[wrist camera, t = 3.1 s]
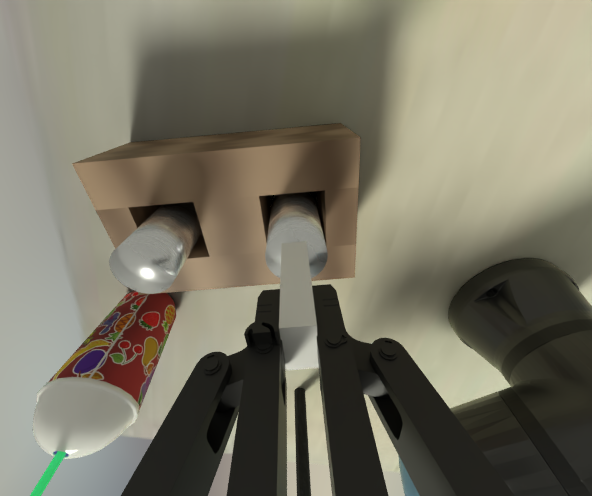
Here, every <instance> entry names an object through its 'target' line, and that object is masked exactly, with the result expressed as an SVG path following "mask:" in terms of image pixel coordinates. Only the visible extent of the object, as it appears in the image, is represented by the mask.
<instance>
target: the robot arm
mask: <svg viewBox="0 0 592 496" xmlns="http://www.w3.org/2000/svg"><path fill="white" fill-rule="evenodd" d="M448 318H449V323H450V325H451V327H452V328H453V330H454V331H455V333H456V334H457V336H458V337H459V338H460V340H461V341H462V342H463V343H464V344H466V345H467V346H469V347H470V348H472V349H474V350H475V351H476V352H477V353H478V354H479V355H481V356H482V357H483V358H484V359H485V360H487V361H488V362H489V363H490V364H492V365H493V366H494V367H495V368H497V369H498V370H499V371H500V372H501V374H502V375H503V376H504V378H505V379H506V380H507V381H508V383H509V384H510V385H511V387H510V388H507V389H504V390H501V391H499V392H495V393H492V394H490V395H487V396H484V397H481V398H478V399H476V400H473V401H470V402H467V403H464V404H462V405H459V406H456V407H453V408H449V407H448V406H447V404H446V403H445V402H444V400H443V399H442V398H441V396H440V395H439V394H438V392H437V391H436V390H435V388H434V387H433V386H432V384H431V383H430V382H429V380H428V379H427V378H426V376H425V375H424V374H423V372H422V371H421V370H420V368H419V367H418V366H417V364H416V363H415V362H414V360H413V359H412V358H411V356H410V355H409V354H408V352H407V351H406V350H405V348H404V347H403V346H402V345H401V344H400V343H399V342H397V341H395V340H393V339H389V338H379V339H377V340H375V341H374V342H373V343H372V344H369V343H364V342H360V341H357V340H355V339H353V338H352V337H351V336H350V335H349V334H348V333H347V332H346V329H345V326H344V322H343V318H342V314H341V309H340V306H339V301H338V297H337V293H336V290H335V289H334V288H333V287H332V286H331V284H329V285H317V286H312V282H311V274H310V266H309V258H308V251H307V243H306V241H304V242H292V243H282V245H281V277H280V289H276V290H263V291H262V293H261V294H260V296H259V297H258V302H257V310H256V317H255V322H254V323H252V324H251V325H250V326H249V327H248V328H247V329H246V331H245V333H244V335H245V339H246V343H247V347H246V348H245V349H243V350H242V351H240V352H238V353H235V354H232V355H229V356H226V354H224V353H222V352H212V353H209V354H207V355H205V356H204V357H203V358H201V359H200V361H199V362H198V363H197V365H196V366H195V368H194V370H193V371H192V373H191V375H190V377H189V378H188V380H187V382H186V384H185V385H184V387H183V389H182V391H181V392H180V394H179V396H178V397H177V399H176V401H175V403H174V404H173V406H172V408H171V410H170V411H169V413H168V415H167V417H166V418H165V420H164V422H163V423H162V425H161V427H160V429H159V430H158V432H157V434H156V436H155V437H154V439H153V441H152V443H151V444H150V446H149V448H148V450H147V451H146V453H145V455H144V456H143V458H142V460H141V462H140V463H139V465H138V467H137V469H136V470H135V472H134V474H133V476H132V477H131V479H130V481H129V483H128V484H127V486H126V488H125V489H124V491H123V493H122V495H121V496H208V493H209V491H210V488H211V485H212V482H213V480H214V477H215V475H216V472H217V469H218V466H219V464H220V461H221V458H222V456H223V453H224V450H225V447H226V445H227V442H228V439H229V437H230V434H231V431H232V428H233V426H234V423H235V420H236V418H237V415H238V420H237V427H236V434H235V441H234V448H233V456H232V462H231V470H230V477H229V483H228V490H227V496H287V385H286V377H285V368H286V370H298V369H311V368H319V374H320V391H321V396H322V405H323V414H324V423H325V432H326V441H327V450H328V460H329V468H330V478H331V487H332V496H388V492H387V489H386V484H385V480H384V476H383V472H382V468H381V464H380V460H379V456H378V451H377V447H376V443H375V439H374V435H373V431H372V427H371V423H370V419H369V415H368V411H367V407H366V402H365V398H364V394H366V395H368V396H369V398H370V400H371V402H372V404H373V406H374V408H375V410H376V412H377V414H378V416H379V418H380V420H381V422H382V424H383V425H384V427H385V429H386V431H387V433H388V435H389V437H390V439H391V441H392V443H393V445H394V447H395V449H396V451H397V453H398V455H399V466H400V473H401V479H402V484H403V489H404V493H405V496H592V306H591V305H590V304H589V302H588V301H587V300H586V298H585V297H584V296H583V295H582V294H581V292H580V291H579V288H578V286H577V284H576V283H575V281H574V280H573V279H572V278H571V277H570V276H569V275H568V274H567V273H565V272H564V271H562V270H561V269H559V268H558V267H556V266H555V265H553V264H552V263H550V262H548V261H545V260H541V259H532V258H527V259H517V260H512V261H508V262H504V263H501V264H498V265H496V266H493V267H491V268H489V269H487V270H485V271H483V272H481V273H480V274H478V275H477V276H475V277H474V278H472V279H471V280H470V281H469V282H467V283H466V284H465V285H464V286H463V287H462V288H461V289H460V290H459V292H458V293H457V294H456V296H455V297H454V299H453V301H452V303H451V305H450V308H449V313H448ZM498 393H499V394H498ZM238 412H239V413H238Z"/></svg>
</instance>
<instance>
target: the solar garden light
mask: <svg viewBox="0 0 592 496" xmlns="http://www.w3.org/2000/svg"><path fill="white" fill-rule="evenodd" d="M295 431H296V471H297V472H296V473H297V496H311V489H310V471H309V453H308V436H307V419H306V401H305V390H304V389H302V388H298V389H296V390H295Z"/></svg>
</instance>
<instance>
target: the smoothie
mask: <svg viewBox="0 0 592 496" xmlns="http://www.w3.org/2000/svg"><path fill="white" fill-rule="evenodd" d="M175 318H176V310H175V303H174V301H173V300H172V298H171V297H170V296H169V295H168V294H167V293H156V294H144V295H139V294H138V292H137V291H133V292H131V293H129V294H127V295H126V296H125V297H124V298H123V299H122V300H121V301H120V302H119V303H118V305H117V306H116V307H115V308H114V309H113V310H112V311H111V312H110V314H109V315H108V316H107V317H106V318H105V319H104V320H103V321H102V322H101V324H100V325H99V326H98V327H97V328H96V329H95V330H94V331H93V333H92V334H91V335H90V336H89V337H88V338H87V339H86V340H85V341H84V343H83V344H82V345H81V346H80V347H79V348H78V349H77V350H76V352H75V353H74V354H73V355H72V356H71V357H70V358H69V359H68V360H67V362H66V363H65V364H64V365H63V366H62V367H61V368H60V369H59V371H58V372H57V373H56V374H55V375H54V376H53V377H52V379H51V380H50V381H49V382H48V383H47V384H46V385H44V386H43V387H42V388H41V389H40V390H39V392H38V393H37V400H36V402H37V405H36V409H35V412H34V418H33V433H34V437H35V439H36V441H37V443H38V444H39V446H40V447H41V448H42V449H43V450H44V451H46V452H47V453H48V454H50V455H52V456H54V458H53V460H52V461H51V463H50V465H49V466H48V468H47V469H46V471H45V472H44V474H43V476H42V477H41V479H40V480H39V482H38V484H37V485H36V487H35V489H34V490H33V492H32V493H31V495H30V496H41V495H42V493H43V491H44V490H45V488H46V486H47V484H48V483H49V481H50V480H51V478H52V476H53V475H54V473H55V471H56V470H57V468H58V466H59V465H60V463H61V461H62V460H63V458H65V459H70V458H79V457H83V456H86V455H90V454H92V453H95V452H97V451H99V450H101V449H102V448H104V447H106V446H107V445H108V444H110V443H111V442H112V441H114V440H115V439H116V438H117V437H118V436H119V435H120V434H121V433H122V432H123V431H124V430H125V429H126V428H127V427H129V426H130V425H132V424H133V423H134V422H135V421H136V419H137V417H138V415H139V410H140V407H141V405H142V402H143V400H144V397H145V394H146V392H147V389H148V387H149V384H150V382H151V379H152V377H153V374H154V371H155V369H156V366H157V364H158V361H159V359H160V356H161V353H162V351H163V348H164V346H165V343H166V341H167V338H168V336H169V333H170V330H171V328H172V325H173V323H174V320H175Z"/></svg>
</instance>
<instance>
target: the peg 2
mask: <svg viewBox="0 0 592 496" xmlns="http://www.w3.org/2000/svg"><path fill="white" fill-rule="evenodd" d="M304 241H306V243H307V251H308V258H309V266H310V274H311V278H313V277H315V276H317V275H318V274H319V273H320V272H321V271H322V270H323V268H324V267H325V265H326V262H327V258H328V253H327V248H326V244H325V240H324V235H323V231H322V227H321V223H320V219H319V215H318V211H317V206H316V202H315V200H314V198H313V197H312V195H311V194H310V193H308V192H299V193H288V194H277V195H276V197H275V198H274V200H273V202H272V206H271V214H270V222H269V229H268V237H267V245H266V252H265V260H266V264H267V266H268V268H269V269H270V271H271V272H272V273H273V274H274V275H275V276H277V277H279V278H280V277H281V245H282V243H292V242H304Z"/></svg>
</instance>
